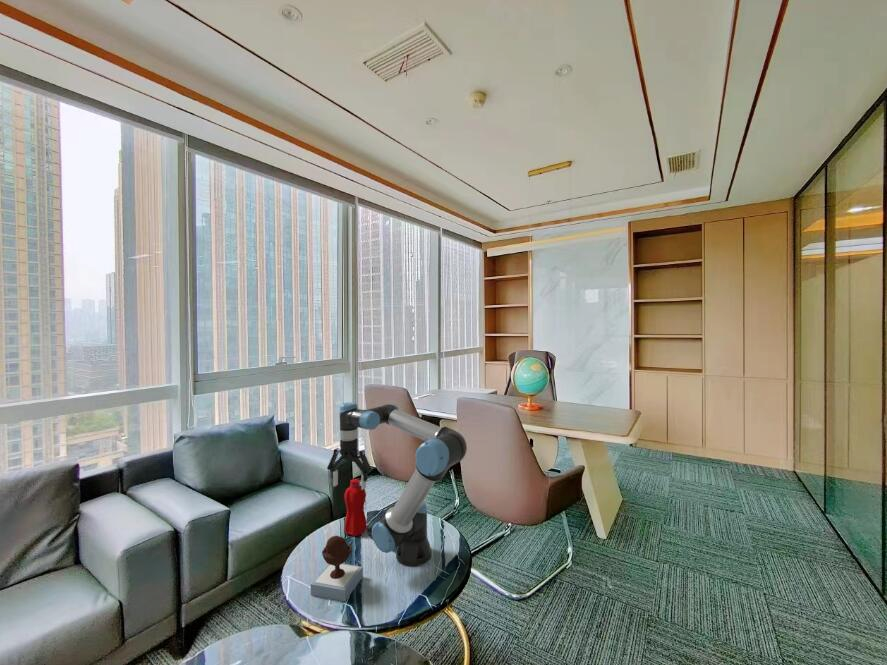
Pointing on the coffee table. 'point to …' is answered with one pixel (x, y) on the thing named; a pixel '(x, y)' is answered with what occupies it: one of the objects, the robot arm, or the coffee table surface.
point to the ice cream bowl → (336, 554)
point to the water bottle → (355, 509)
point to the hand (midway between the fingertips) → (349, 486)
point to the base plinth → (337, 582)
